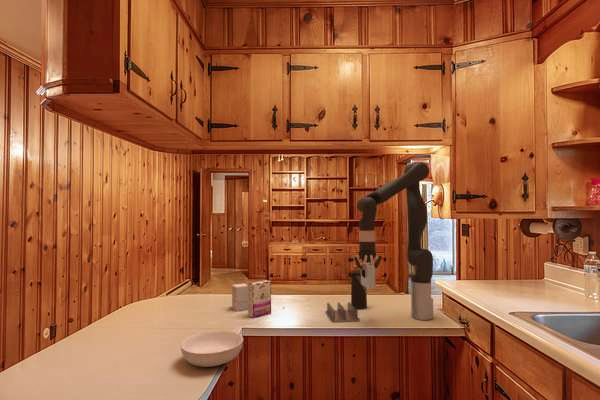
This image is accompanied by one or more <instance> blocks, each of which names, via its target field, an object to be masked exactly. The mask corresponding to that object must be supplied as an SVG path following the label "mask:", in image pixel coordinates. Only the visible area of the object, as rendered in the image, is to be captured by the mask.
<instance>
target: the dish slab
mask: <svg viewBox="0 0 600 400" xmlns="http://www.w3.org/2000/svg"><path fill="white" fill-rule="evenodd" d="M361 284H362V285H363V286H365V287H366V289H368V290H376V268H375V267H374V266H372V265H370V264H369V262H366V265H365V278H363V276H362V275H361Z"/></svg>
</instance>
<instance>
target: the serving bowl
mask: <svg viewBox="0 0 600 400" xmlns="http://www.w3.org/2000/svg"><path fill="white" fill-rule="evenodd" d="M243 343H244V337H243V335H241V334H240V333H238V332H236V331H232V330H208V331H203V332H199V333H195V334H193V335H190V336H188V337H187V338H185V339H183V341H182V342H181V343H180V350H181V354H182V356H183V358H184V359H185V361H186V362H188V363H190V364H191V365H193V366H196V367H203V368H204V367H207V368H208V367H215V366H217V367H218V366H220V365H224V364H226V363H229V362H230V361H232V360H234V359H235V358H237V356H238V355H239V353H240V352H241V350H242V348H243Z"/></svg>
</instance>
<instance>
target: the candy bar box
mask: <svg viewBox="0 0 600 400" xmlns="http://www.w3.org/2000/svg"><path fill="white" fill-rule="evenodd" d="M271 283H272V281H271V280H267V279H263V280H258V281H252V282H248V283H247V285H248V310H247V316H248V317H249V316H250V318H252V319H255V318H260V317H264V316H267V315H270V314H272V284H271Z"/></svg>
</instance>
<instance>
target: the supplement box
mask: <svg viewBox="0 0 600 400" xmlns="http://www.w3.org/2000/svg"><path fill="white" fill-rule="evenodd" d="M231 309H233V310H234V311H235V310H236V312H241V311H248V283H247V284H246V283H236V284H232V285H231Z"/></svg>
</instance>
